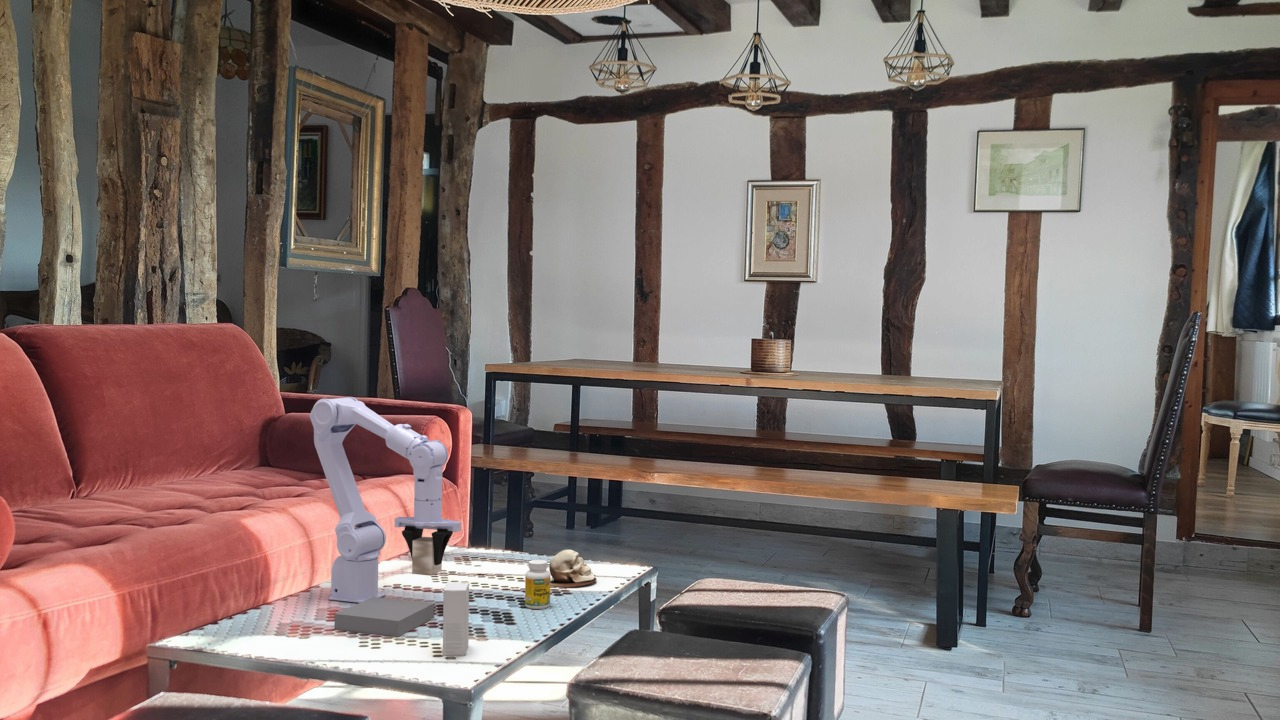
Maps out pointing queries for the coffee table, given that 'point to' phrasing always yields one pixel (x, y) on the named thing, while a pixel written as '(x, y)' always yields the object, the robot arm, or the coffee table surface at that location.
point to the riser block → (384, 616)
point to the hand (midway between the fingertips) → (426, 563)
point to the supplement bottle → (537, 585)
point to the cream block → (424, 557)
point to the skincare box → (455, 618)
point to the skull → (570, 570)
